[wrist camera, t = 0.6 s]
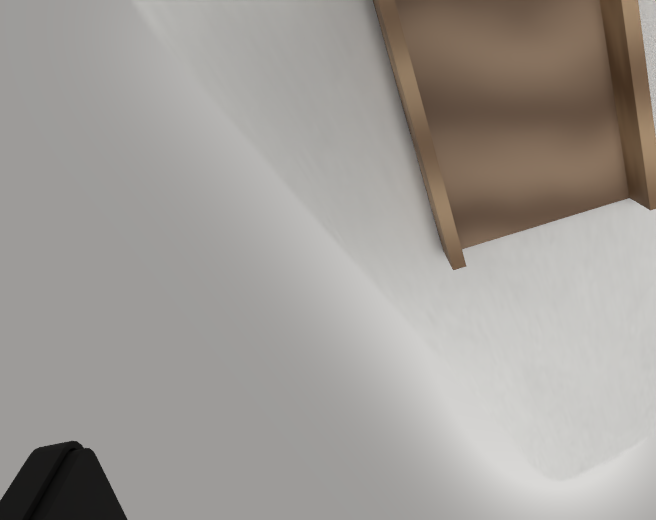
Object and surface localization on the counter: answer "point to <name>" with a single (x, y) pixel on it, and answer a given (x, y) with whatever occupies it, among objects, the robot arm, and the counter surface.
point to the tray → (522, 110)
